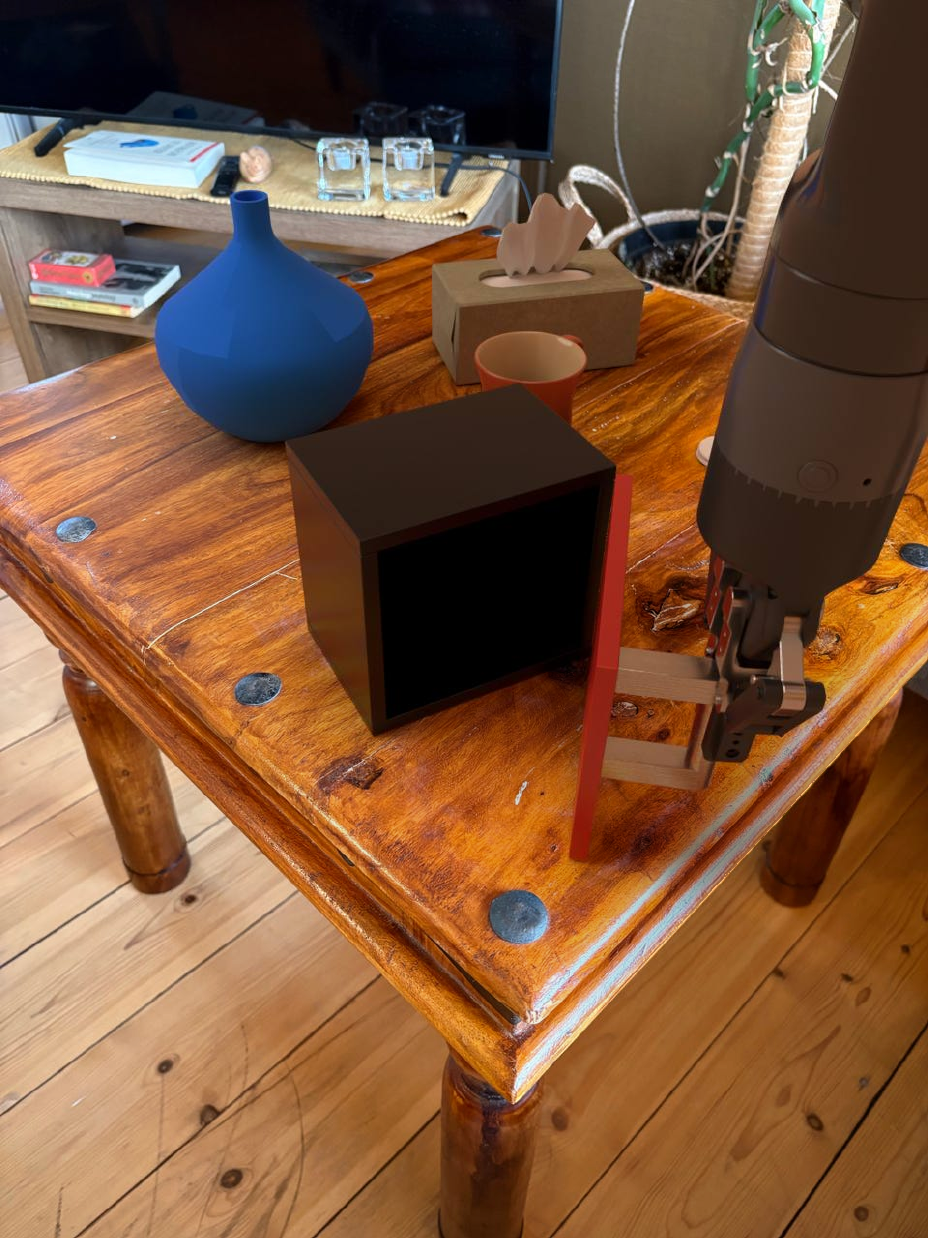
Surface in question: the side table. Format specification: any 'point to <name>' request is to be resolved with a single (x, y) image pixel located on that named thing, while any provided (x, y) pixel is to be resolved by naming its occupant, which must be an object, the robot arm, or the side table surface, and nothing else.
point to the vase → (264, 336)
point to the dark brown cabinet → (449, 549)
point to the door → (635, 677)
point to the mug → (534, 366)
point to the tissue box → (538, 293)
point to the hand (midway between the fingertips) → (719, 738)
